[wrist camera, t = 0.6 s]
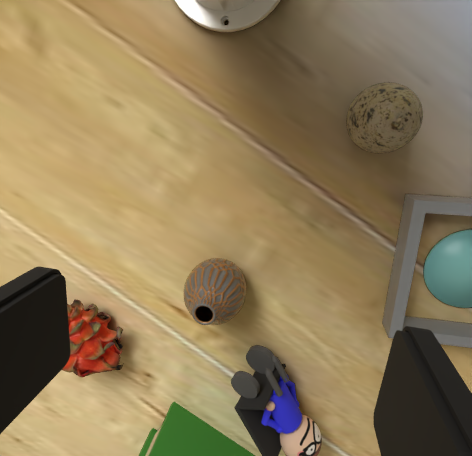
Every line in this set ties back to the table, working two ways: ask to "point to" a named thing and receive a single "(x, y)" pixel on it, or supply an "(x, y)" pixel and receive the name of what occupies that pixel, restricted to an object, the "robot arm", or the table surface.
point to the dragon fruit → (91, 341)
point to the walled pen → (432, 269)
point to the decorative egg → (384, 117)
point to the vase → (214, 291)
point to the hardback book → (188, 438)
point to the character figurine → (273, 408)
